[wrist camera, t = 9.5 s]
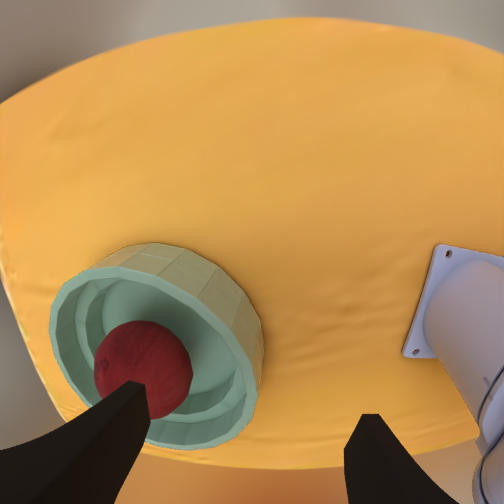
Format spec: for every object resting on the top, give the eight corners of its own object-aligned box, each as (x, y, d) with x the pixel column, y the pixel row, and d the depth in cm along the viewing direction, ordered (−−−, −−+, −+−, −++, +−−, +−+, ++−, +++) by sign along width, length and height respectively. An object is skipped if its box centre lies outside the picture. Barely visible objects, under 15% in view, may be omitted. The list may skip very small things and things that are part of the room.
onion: (138, 367, 20) (88, 441, 13) (118, 298, 19) (46, 363, 11) (212, 373, 20) (179, 463, 12) (198, 299, 18) (145, 382, 10)
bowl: (247, 228, 17) (232, 252, 12) (274, 403, 20) (270, 454, 16) (69, 253, 19) (23, 276, 14) (123, 397, 22) (98, 435, 18)
